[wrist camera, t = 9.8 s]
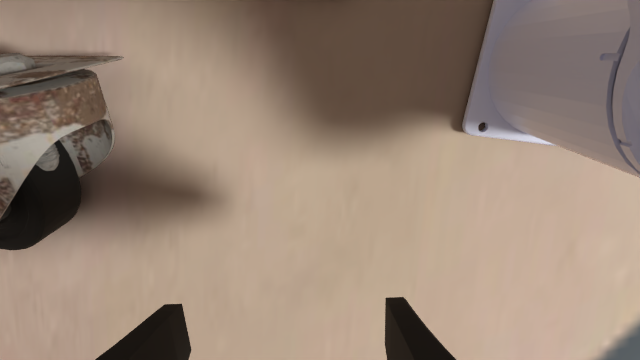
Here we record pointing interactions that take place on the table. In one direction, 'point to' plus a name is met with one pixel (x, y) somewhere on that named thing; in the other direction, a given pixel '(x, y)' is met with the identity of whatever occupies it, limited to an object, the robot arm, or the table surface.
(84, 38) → the table surface
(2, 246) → the caster wheel
